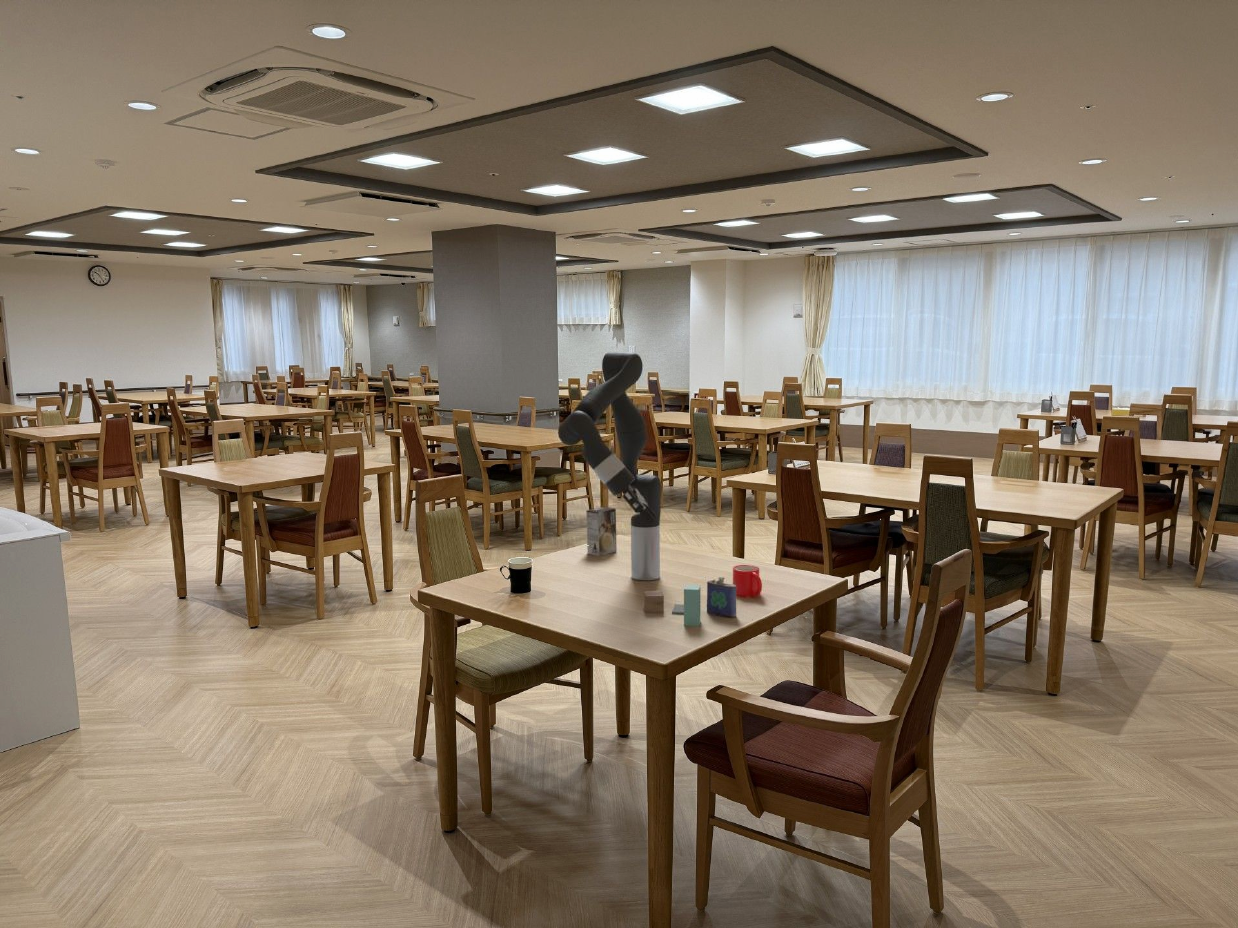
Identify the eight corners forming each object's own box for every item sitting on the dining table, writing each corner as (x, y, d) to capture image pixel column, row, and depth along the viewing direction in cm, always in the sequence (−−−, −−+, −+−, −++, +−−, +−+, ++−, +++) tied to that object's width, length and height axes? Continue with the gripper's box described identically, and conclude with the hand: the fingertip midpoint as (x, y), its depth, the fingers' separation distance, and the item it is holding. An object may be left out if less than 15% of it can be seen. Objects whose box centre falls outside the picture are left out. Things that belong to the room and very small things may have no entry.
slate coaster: (675, 608, 248) (675, 604, 248) (699, 609, 247) (699, 605, 247) (672, 615, 242) (672, 611, 241) (697, 616, 240) (697, 612, 240)
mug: (750, 602, 251) (750, 575, 250) (727, 591, 262) (727, 566, 261) (772, 598, 255) (773, 572, 254) (749, 588, 266) (749, 563, 264)
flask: (738, 616, 239) (738, 578, 237) (732, 619, 236) (732, 580, 235) (709, 610, 244) (709, 573, 243) (704, 612, 242) (703, 575, 241)
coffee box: (604, 549, 318) (603, 506, 316) (617, 551, 314) (616, 508, 312) (586, 553, 312) (586, 509, 309) (599, 556, 307) (598, 512, 305)
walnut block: (644, 608, 247) (644, 591, 247) (661, 607, 248) (661, 590, 247) (646, 613, 242) (645, 596, 242) (663, 612, 243) (663, 595, 242)
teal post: (685, 620, 235) (685, 585, 234) (700, 621, 235) (700, 585, 233) (683, 625, 232) (683, 589, 230) (698, 626, 231) (698, 589, 229)
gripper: (622, 467, 227) (662, 514, 227) (626, 464, 241) (664, 508, 241) (600, 485, 228) (640, 532, 228) (606, 481, 242) (643, 525, 242)
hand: (652, 520), depth 234 cm, fingers open, 8 cm apart
